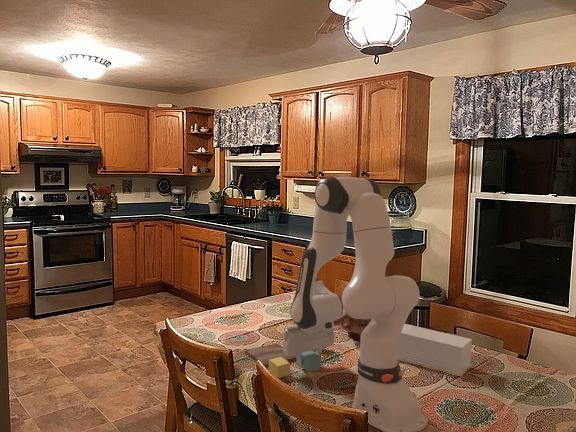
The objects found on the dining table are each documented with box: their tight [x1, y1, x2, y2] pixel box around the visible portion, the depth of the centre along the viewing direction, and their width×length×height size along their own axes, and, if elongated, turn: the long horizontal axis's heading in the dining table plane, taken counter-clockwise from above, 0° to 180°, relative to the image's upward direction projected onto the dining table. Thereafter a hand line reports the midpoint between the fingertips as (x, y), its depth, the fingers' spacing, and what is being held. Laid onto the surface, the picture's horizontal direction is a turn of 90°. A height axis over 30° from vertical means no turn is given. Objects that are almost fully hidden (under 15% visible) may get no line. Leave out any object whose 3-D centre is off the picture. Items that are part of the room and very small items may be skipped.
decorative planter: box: [339, 312, 371, 342], centre depth 198 cm, size 20×12×14 cm, turn 131°
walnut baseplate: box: [244, 343, 296, 368], centre depth 177 cm, size 15×14×1 cm
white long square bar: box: [398, 323, 473, 377], centre depth 177 cm, size 32×11×11 cm, turn 53°
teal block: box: [295, 350, 322, 373], centre depth 169 cm, size 8×5×4 cm, turn 33°
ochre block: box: [267, 357, 291, 379], centre depth 163 cm, size 6×5×4 cm
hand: (308, 361), depth 169 cm, fingers closed on teal block, 5 cm apart
